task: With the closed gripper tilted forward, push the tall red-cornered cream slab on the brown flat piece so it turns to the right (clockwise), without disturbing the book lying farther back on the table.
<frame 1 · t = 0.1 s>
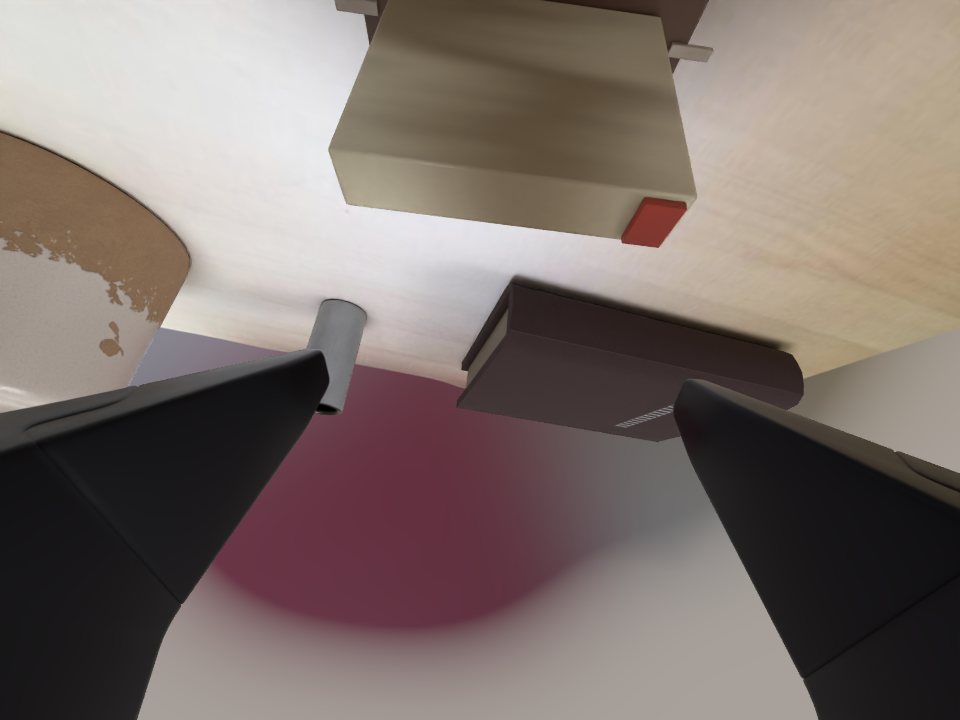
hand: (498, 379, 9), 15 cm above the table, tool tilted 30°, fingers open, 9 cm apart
vase: (74, 214, 28), on the table
book: (603, 353, 40), on the table
red-cornered cream slab: (518, 104, 10), point 7 cm above the table, hinge at 90.0°
grey hollow cylinder: (344, 309, 37), on the table
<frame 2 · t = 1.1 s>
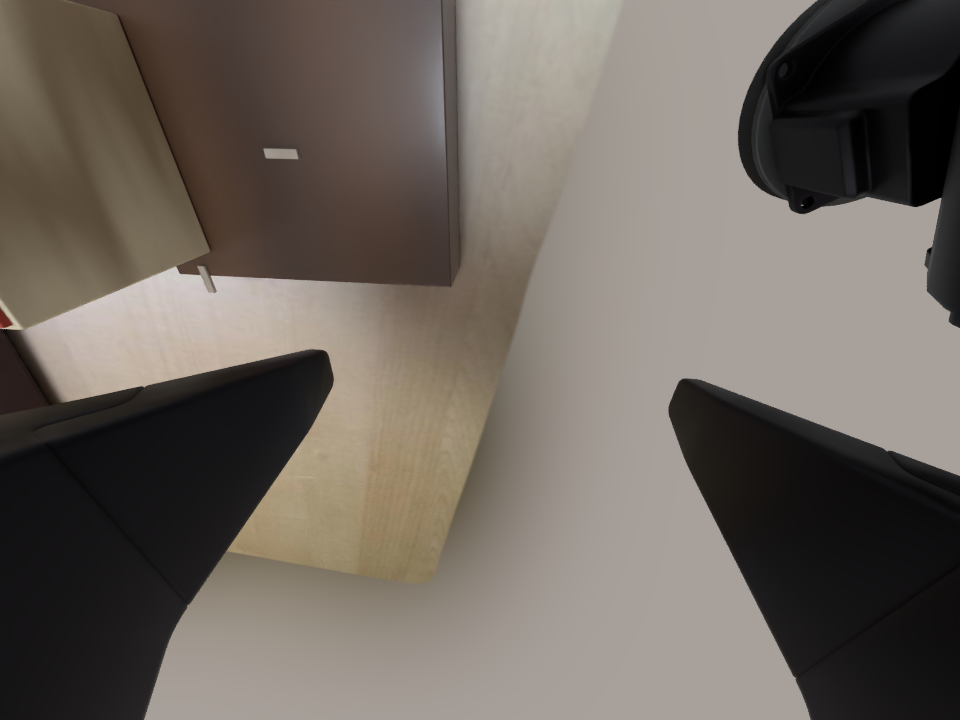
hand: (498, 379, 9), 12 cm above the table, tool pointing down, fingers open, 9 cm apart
brown flat piece: (313, 149, 17), on the table
red-cornered cream slab: (48, 158, 12), point 7 cm above the table, hinge at 90.0°
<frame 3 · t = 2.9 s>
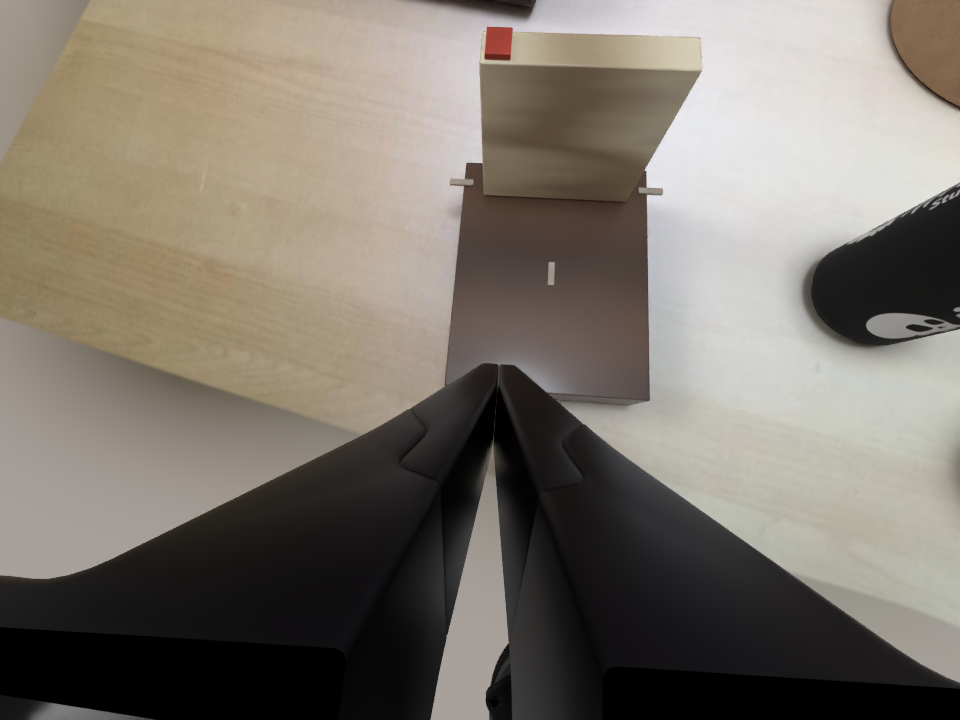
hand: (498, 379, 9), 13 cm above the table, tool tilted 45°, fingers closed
brown flat piece: (543, 292, 24), on the table
red-cornered cream slab: (569, 131, 18), point 7 cm above the table, hinge at 90.0°
beverage can: (852, 299, 23), on the table
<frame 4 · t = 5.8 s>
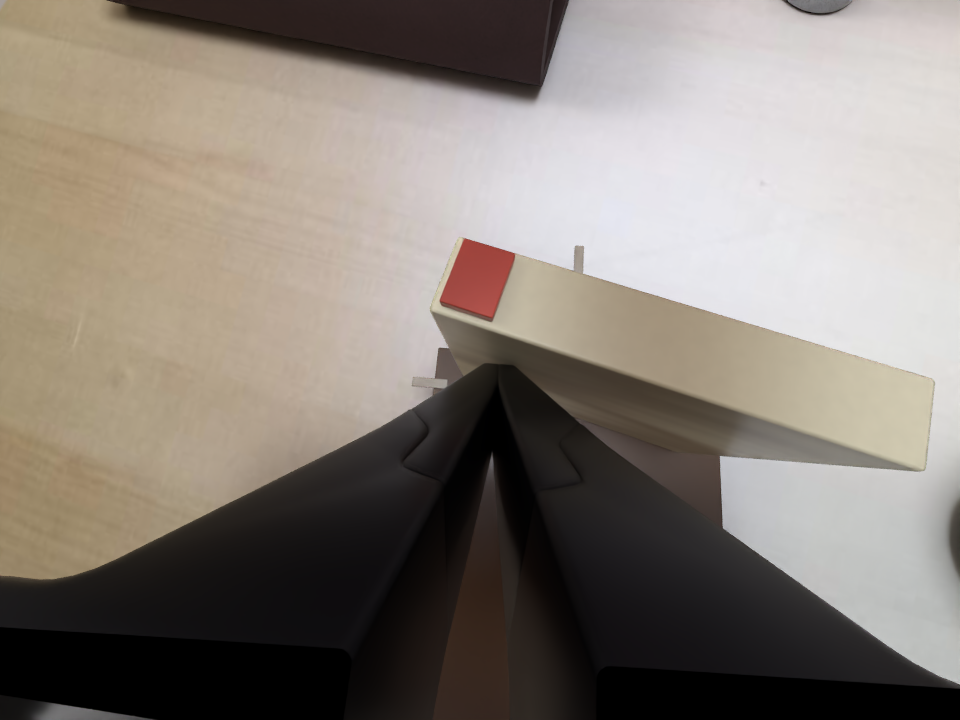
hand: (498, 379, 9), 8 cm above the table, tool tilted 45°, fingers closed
brown flat piece: (553, 527, 16), on the table
red-cornered cream slab: (604, 378, 10), point 7 cm above the table, hinge at 75.6°, touching gripper
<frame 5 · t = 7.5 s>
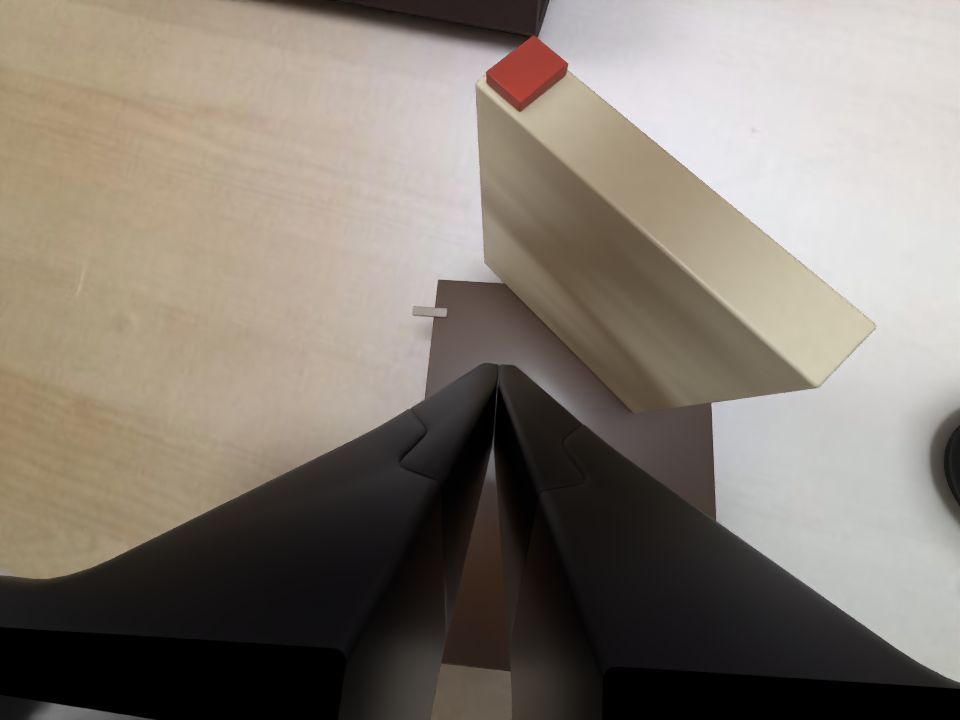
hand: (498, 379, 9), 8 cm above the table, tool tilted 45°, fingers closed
brown flat piece: (551, 457, 16), on the table
red-cornered cream slab: (598, 279, 11), point 7 cm above the table, hinge at 46.8°
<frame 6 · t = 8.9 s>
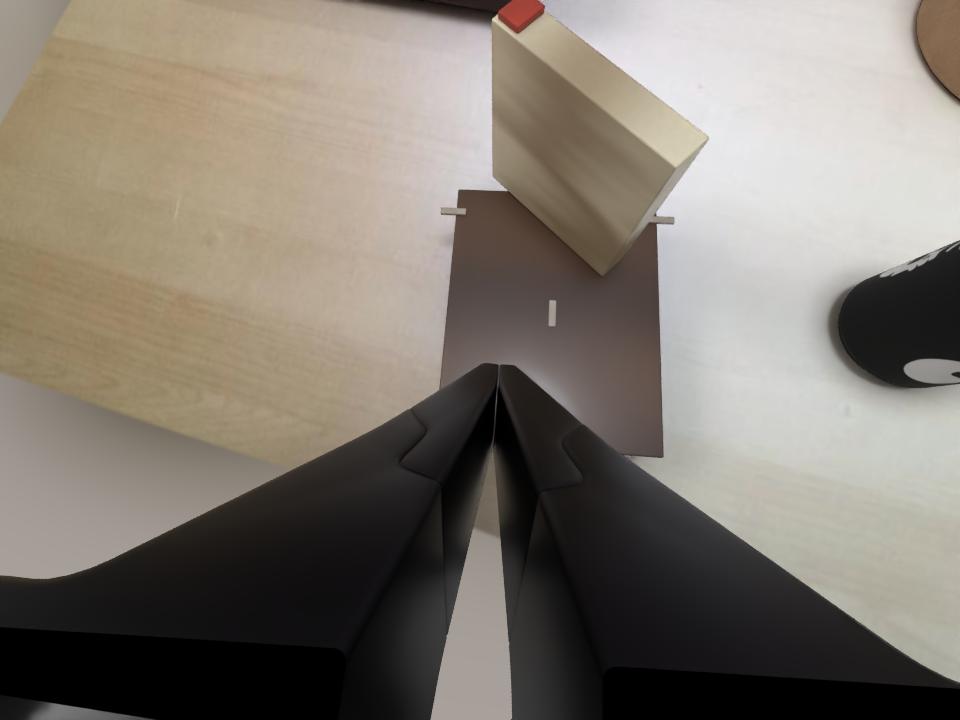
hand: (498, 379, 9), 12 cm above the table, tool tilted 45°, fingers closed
brown flat piece: (544, 328, 22), on the table
red-cornered cream slab: (570, 160, 16), point 7 cm above the table, hinge at 46.8°
beverage can: (883, 334, 21), on the table
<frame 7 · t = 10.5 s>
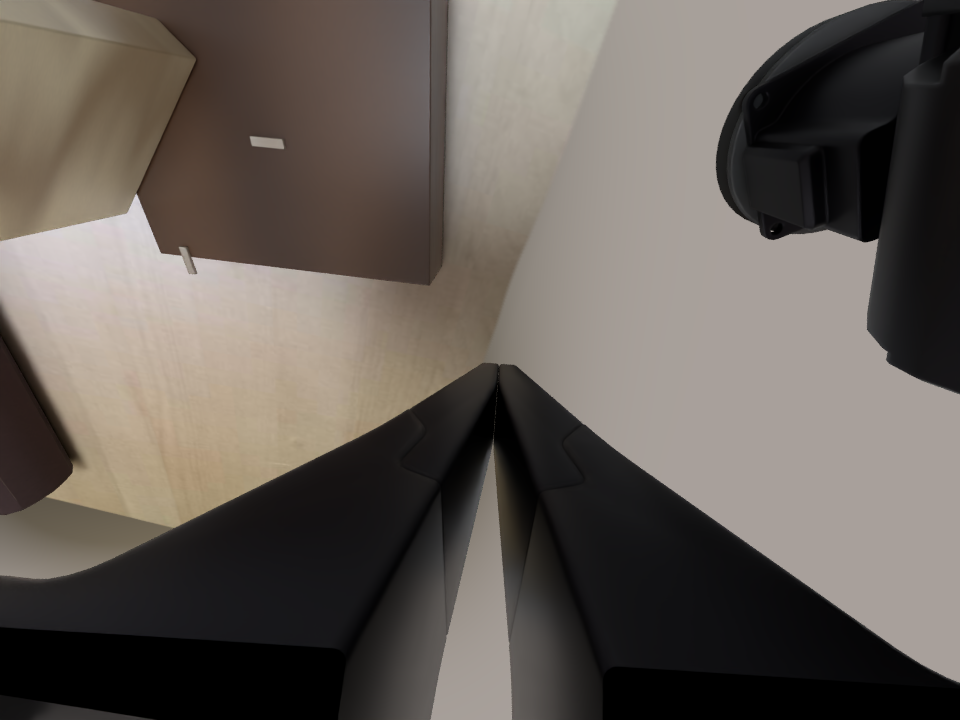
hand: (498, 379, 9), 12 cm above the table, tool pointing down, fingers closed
brown flat piece: (303, 139, 18), on the table
red-cornered cream slab: (28, 130, 12), point 7 cm above the table, hinge at 46.8°
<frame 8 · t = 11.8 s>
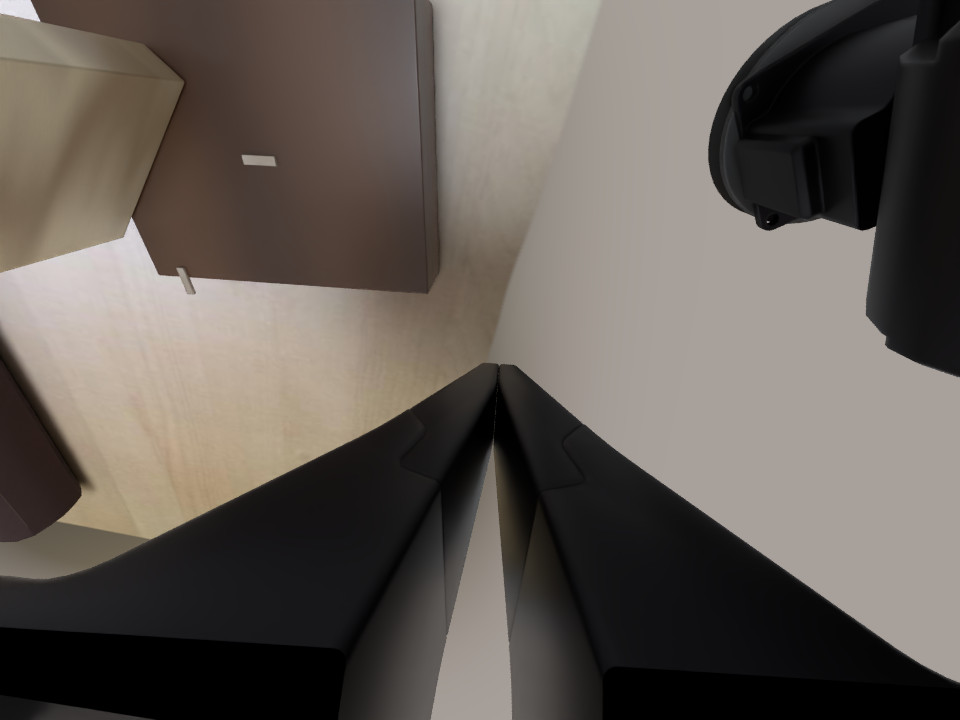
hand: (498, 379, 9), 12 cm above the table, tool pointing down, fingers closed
brown flat piece: (294, 154, 18), on the table
red-cornered cream slab: (21, 162, 12), point 7 cm above the table, hinge at 46.8°
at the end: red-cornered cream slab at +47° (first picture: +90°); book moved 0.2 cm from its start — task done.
